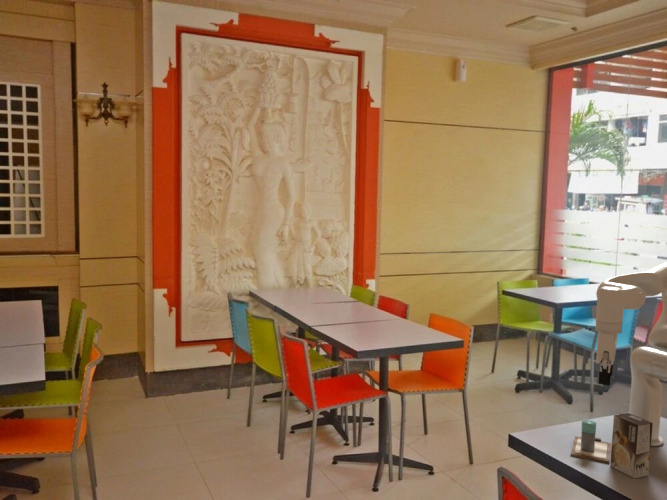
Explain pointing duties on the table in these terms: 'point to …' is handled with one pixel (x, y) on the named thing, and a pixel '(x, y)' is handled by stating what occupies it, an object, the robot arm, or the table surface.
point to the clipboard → (599, 453)
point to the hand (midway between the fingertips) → (605, 379)
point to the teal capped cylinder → (588, 436)
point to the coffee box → (631, 445)
